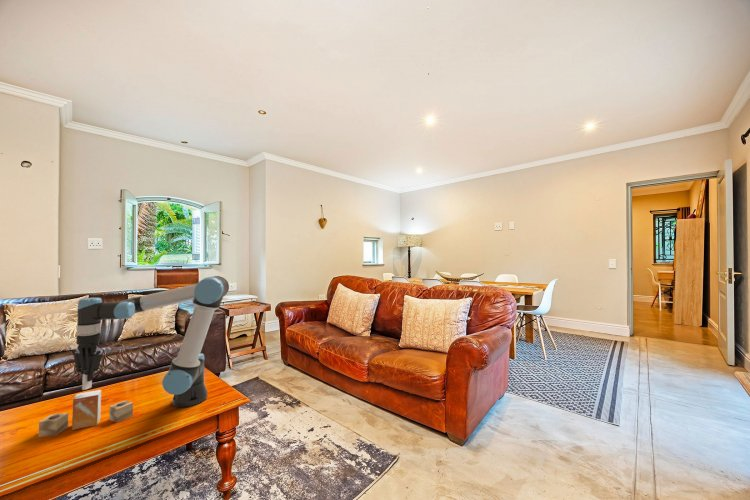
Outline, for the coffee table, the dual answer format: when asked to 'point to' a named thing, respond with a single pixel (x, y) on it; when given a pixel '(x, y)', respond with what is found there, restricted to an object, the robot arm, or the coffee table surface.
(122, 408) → the marked block
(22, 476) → the coffee table surface
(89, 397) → the small box
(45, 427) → the marked block
